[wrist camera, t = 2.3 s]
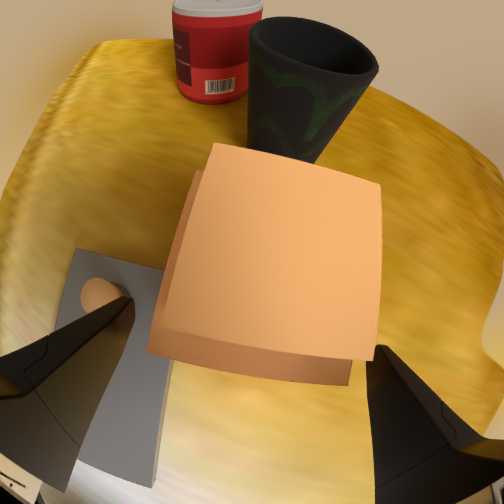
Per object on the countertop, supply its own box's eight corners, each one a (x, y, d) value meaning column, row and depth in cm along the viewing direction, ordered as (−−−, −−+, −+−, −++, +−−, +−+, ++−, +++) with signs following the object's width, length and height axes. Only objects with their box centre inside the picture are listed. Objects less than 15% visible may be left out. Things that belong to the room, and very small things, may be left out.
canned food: (264, 82, 26) (280, -1, 16) (218, 117, 24) (223, 17, 13) (211, 61, 27) (214, -15, 16) (164, 91, 24) (153, 5, 14)
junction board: (155, 479, 13) (141, 508, 9) (55, 437, 13) (25, 451, 9) (191, 280, 19) (182, 263, 14) (84, 253, 18) (56, 232, 14)
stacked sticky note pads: (284, 363, 18) (397, 400, 5) (186, 344, 17) (110, 357, 5) (299, 269, 20) (403, 169, 7) (207, 250, 19) (190, 113, 7)
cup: (268, 115, 24) (293, 9, 13) (334, 157, 23) (391, 57, 12) (216, 161, 22) (219, 34, 10) (291, 212, 21) (353, 96, 10)
